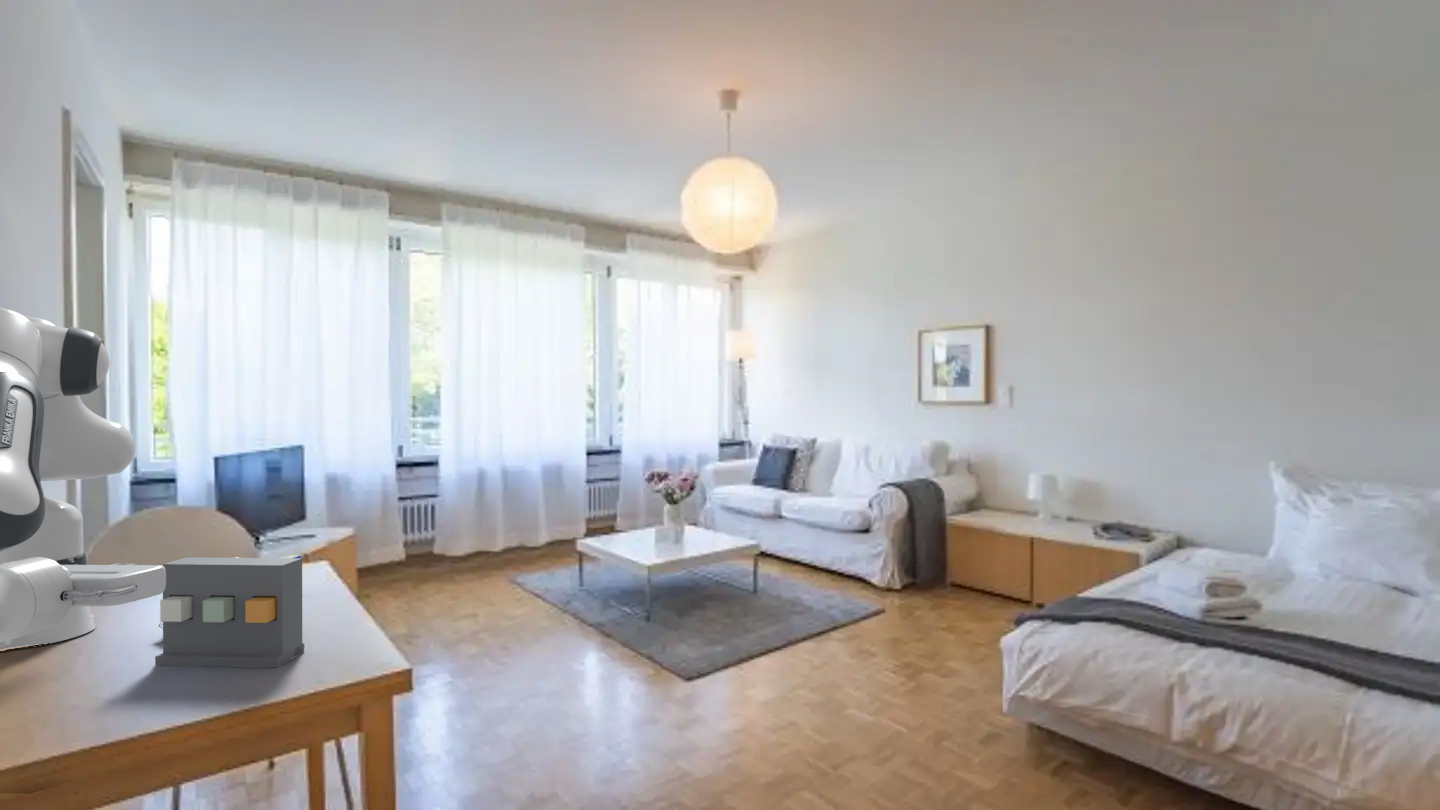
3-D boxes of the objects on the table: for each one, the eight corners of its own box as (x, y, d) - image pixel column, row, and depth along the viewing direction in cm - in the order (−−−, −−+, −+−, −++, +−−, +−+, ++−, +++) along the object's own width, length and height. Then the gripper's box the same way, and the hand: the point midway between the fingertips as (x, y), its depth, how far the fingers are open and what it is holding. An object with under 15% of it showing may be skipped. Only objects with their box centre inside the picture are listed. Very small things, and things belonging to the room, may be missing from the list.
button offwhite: (160, 621, 111) (160, 600, 111) (175, 615, 114) (175, 594, 114) (180, 621, 111) (180, 600, 111) (195, 615, 114) (195, 595, 114)
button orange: (245, 622, 111) (245, 601, 111) (258, 616, 114) (258, 595, 114) (266, 622, 111) (266, 601, 111) (278, 617, 114) (278, 596, 114)
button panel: (155, 665, 112) (154, 566, 112) (190, 650, 119) (189, 556, 119) (276, 667, 111) (276, 567, 111) (304, 651, 118) (304, 557, 118)
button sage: (202, 621, 111) (202, 600, 111) (217, 616, 114) (217, 595, 114) (223, 622, 111) (223, 601, 111) (237, 616, 114) (237, 595, 114)
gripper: (109, 570, 83) (200, 546, 97) (-55, 569, 84) (58, 546, 97) (109, 623, 83) (200, 592, 97) (-55, 622, 84) (59, 591, 97)
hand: (128, 569), depth 97 cm, fingers closed
